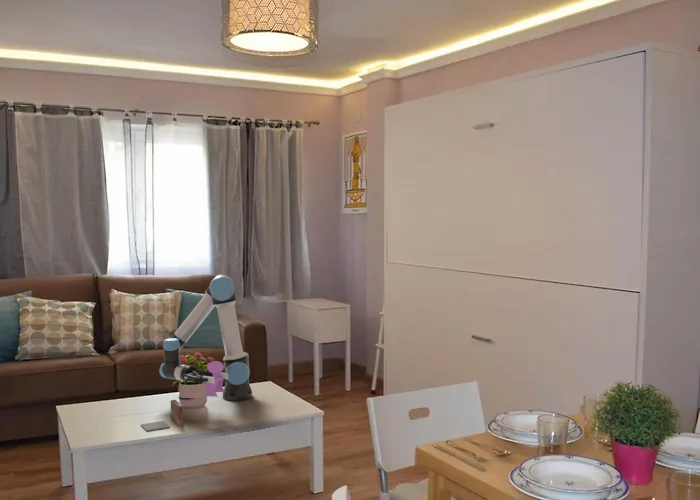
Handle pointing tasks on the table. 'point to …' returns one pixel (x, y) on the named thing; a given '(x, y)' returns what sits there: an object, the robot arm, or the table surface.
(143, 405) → the table surface
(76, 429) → the table surface
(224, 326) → the robot arm
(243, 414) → the table surface
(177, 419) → the brown wooden slab
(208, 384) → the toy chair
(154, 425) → the coaster
